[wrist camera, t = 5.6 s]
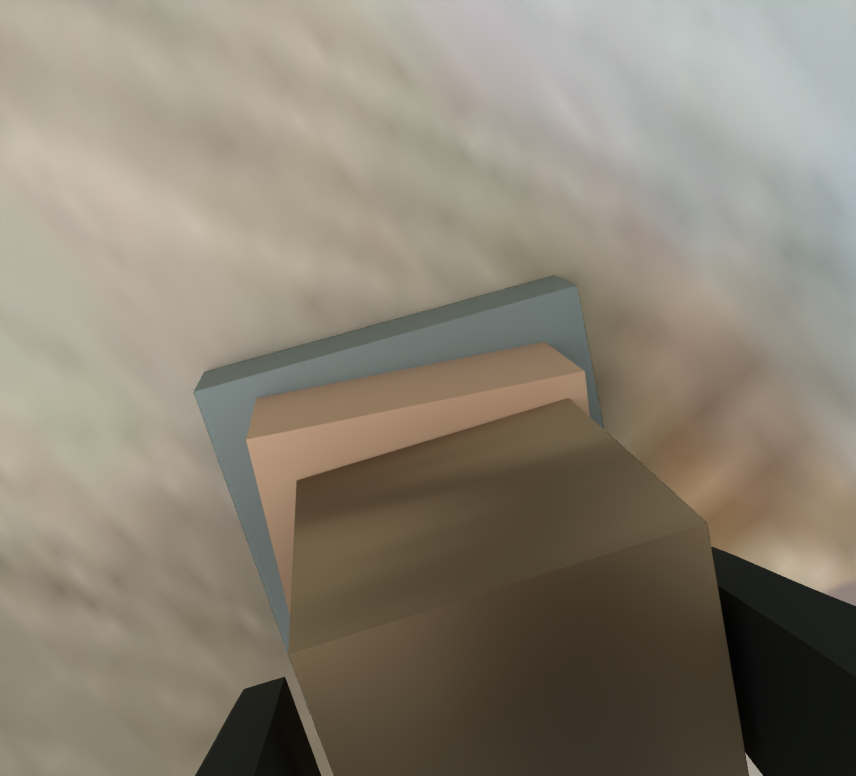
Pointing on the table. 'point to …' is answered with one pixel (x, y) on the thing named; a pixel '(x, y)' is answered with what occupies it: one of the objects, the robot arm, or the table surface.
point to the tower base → (371, 355)
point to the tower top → (391, 420)
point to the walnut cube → (510, 611)
